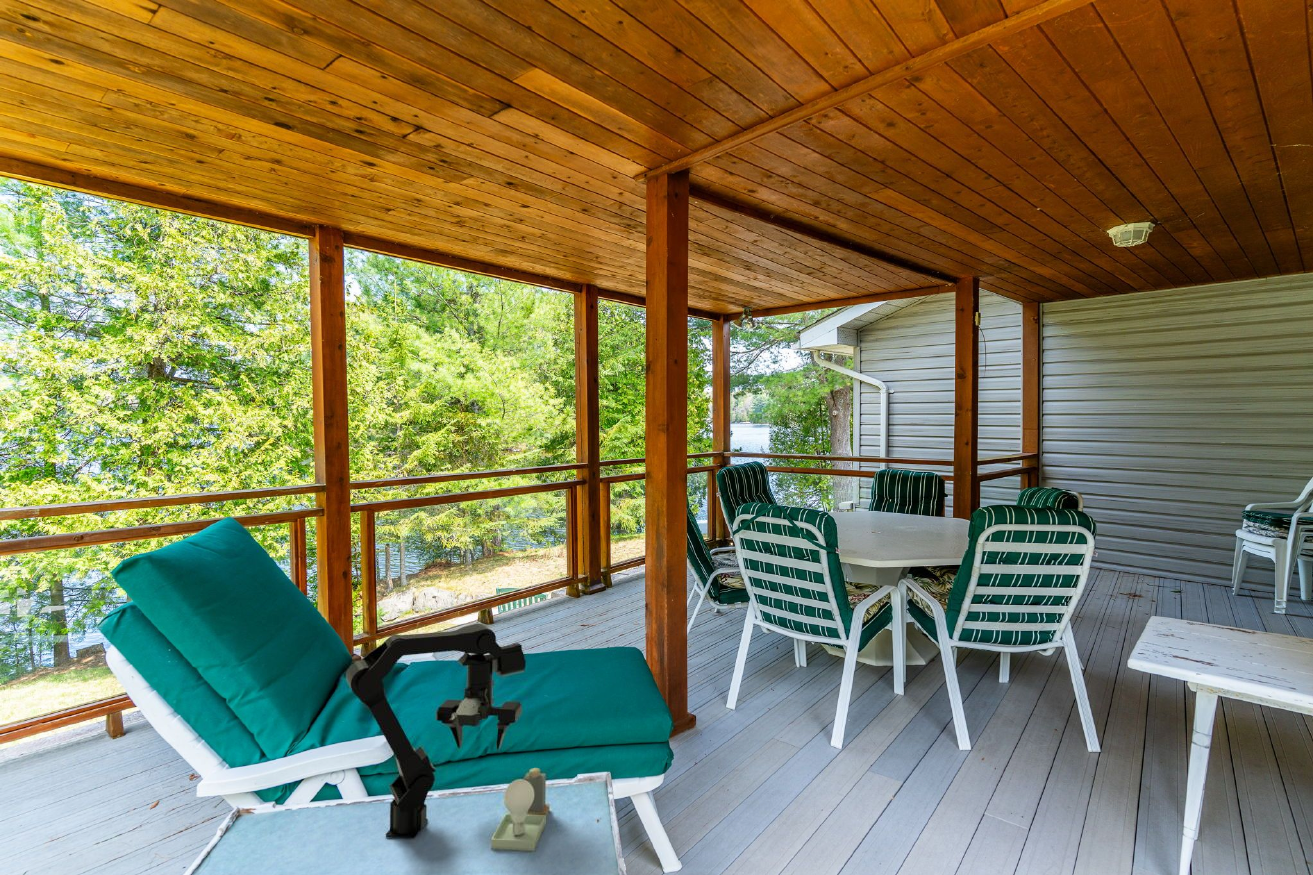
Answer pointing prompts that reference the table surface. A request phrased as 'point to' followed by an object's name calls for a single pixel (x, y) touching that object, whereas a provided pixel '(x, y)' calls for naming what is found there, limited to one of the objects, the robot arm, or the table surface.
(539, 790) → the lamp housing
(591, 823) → the table surface
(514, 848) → the tray
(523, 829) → the lightbulb
